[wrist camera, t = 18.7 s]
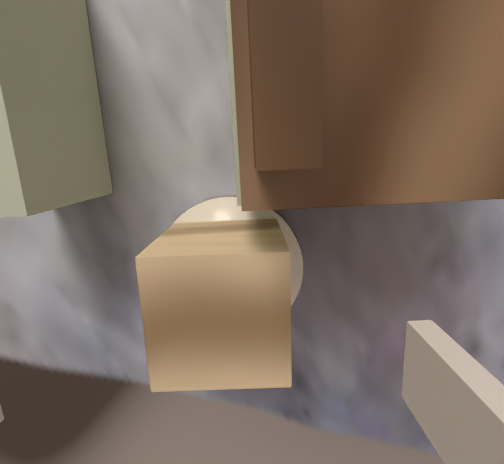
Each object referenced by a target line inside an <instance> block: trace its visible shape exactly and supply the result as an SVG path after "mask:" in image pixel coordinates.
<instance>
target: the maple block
mask: <svg viewBox="0 0 504 464" xmlns="http://www.w3.org/2000/svg"><path fill="white" fill-rule="evenodd" d="M135 262H136V271H137V279H138V287H139V295H140V304H141V312H142V320H143V329H144V337H145V345H146V353H147V362H148V370H149V378H150V387H151V392H164V391H194V390H224V389H254V388H284V387H292V373H291V271H290V250H289V248H288V245H287V243H286V240H285V238H284V236H283V233H282V231H281V228H280V226H279V223H278V221H277V219H250V220H222V221H194V222H175V223H174V224H173V225H172V226H170V227H169V228H168V229H167V230H166V231H165V232H164V233H162V234H161V235H160V236H159V237H158V238H157V239H156V240H154V241H153V242H152V243H151V244H150V245H149V246H148V247H146V248H145V249H144V250H143V251H142V252H141V253H140V254H138V255H137V256H136V257H135Z"/></svg>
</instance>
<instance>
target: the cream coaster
mask: <svg viewBox="0 0 504 464" xmlns="http://www.w3.org/2000/svg"><path fill="white" fill-rule="evenodd" d="M250 219H277V221H278V223H279V226H280V228H281V231H282V233H283V236H284V238H285V240H286V243H287V245H288V248H289V250H290V271H291V306H292V305H293V303H294V302H295V300H296V298H297V296H298V293H299V290H300V288H301V284H302V279H303V258H302V254H301V249H300V247H299V244H298V241H297V239H296V238H295V236H294V234H293V232H292V230H291V228H290V227H289V226H288V224H287V223H286V222H285V220H284V219H283V218H282V217H281V216H280V215H279V214H278V213H276V212H275V211H274V210H261V211H242V207H241V206H237V196H221V197H215V198H211V199H207V200H205V201H202V202H200V203H198V204H196V205H194V206H193V207H191V208H190V209H188V210H187V211H186V212H184V213H183V214H182V215H181V216H180V217H179V218H178V219H177V220H176V221H175V222H194V221H222V220H250ZM175 222H174V223H175ZM174 223H173V224H174ZM173 224H172V225H173ZM172 225H171V226H172Z"/></svg>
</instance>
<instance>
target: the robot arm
mask: <svg viewBox="0 0 504 464" xmlns="http://www.w3.org/2000/svg"><path fill="white" fill-rule="evenodd" d="M402 398H403V399H404V401H405V403H406V404H407V406H408V407H409V409H410V410H411V412H412V414H413V415H414V417H415V418H416V420H417V421H418V423H419V425H420V426H421V428H422V429H423V431H424V432H425V434H426V436H427V437H428V439H429V440H430V442H431V443H432V445H433V447H434V448H435V450H436V451H437V453H438V455H439V456H440V458H441V459H442V461H443V462H444V464H504V385H502V384H501V383H500V382H499V381H498V380H497V379H496V378H495V377H494V376H493V375H491V374H490V373H489V372H488V371H487V370H486V369H485V368H484V367H483V366H482V365H480V364H479V363H478V362H477V361H476V360H475V359H474V358H473V357H472V356H471V355H469V354H468V353H467V352H466V351H465V350H464V349H463V348H462V347H461V346H460V345H458V344H457V343H456V342H455V341H454V340H453V339H452V338H451V337H450V336H449V335H447V334H446V333H445V332H444V331H443V330H442V329H441V328H440V327H439V326H438V325H436V324H435V323H434V322H433V321H432V320H419V321H407V327H406V341H405V355H404V369H403V382H402ZM3 419H4V416H3V413H2V409H1V405H0V422H1V421H2V420H3Z"/></svg>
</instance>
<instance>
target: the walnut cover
mask: <svg viewBox="0 0 504 464" xmlns="http://www.w3.org/2000/svg"><path fill="white" fill-rule="evenodd" d="M230 10H231V28H232V46H233V64H234V82H235V100H236V117H237V135H238V153H239V171H240V189H241V207H242V211H261V210H282V209H302V208H323V207H344V206H364V205H385V204H406V203H426V202H447V201H467V200H488V199H504V0H230Z"/></svg>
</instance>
